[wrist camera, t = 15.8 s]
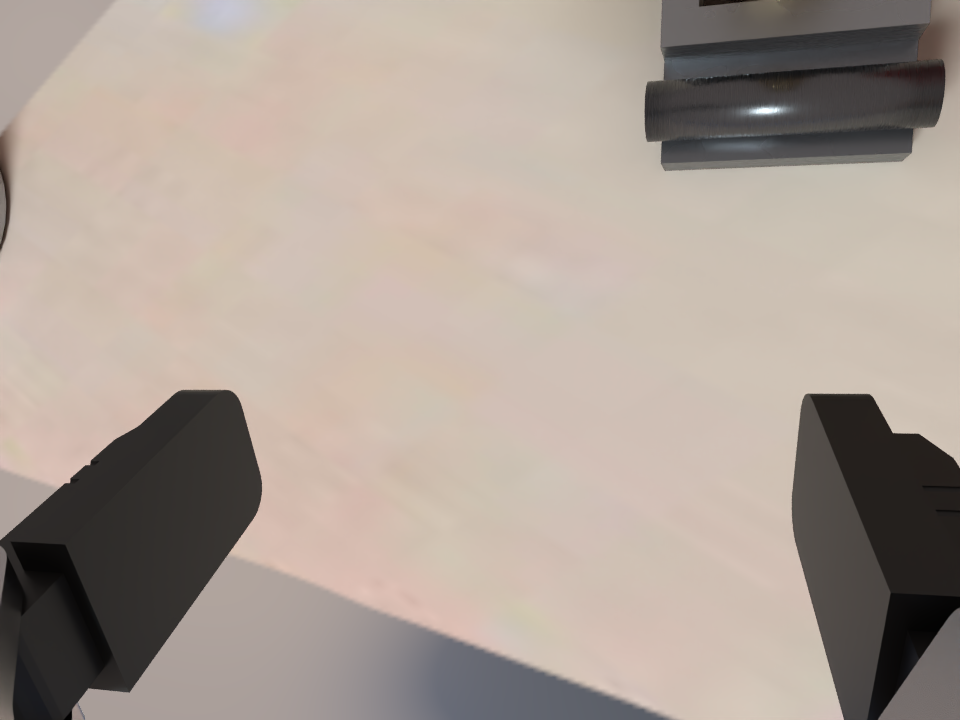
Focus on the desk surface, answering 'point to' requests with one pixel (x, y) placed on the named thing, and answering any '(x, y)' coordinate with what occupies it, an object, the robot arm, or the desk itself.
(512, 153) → the desk surface
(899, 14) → the grey roller frame base
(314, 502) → the desk surface
